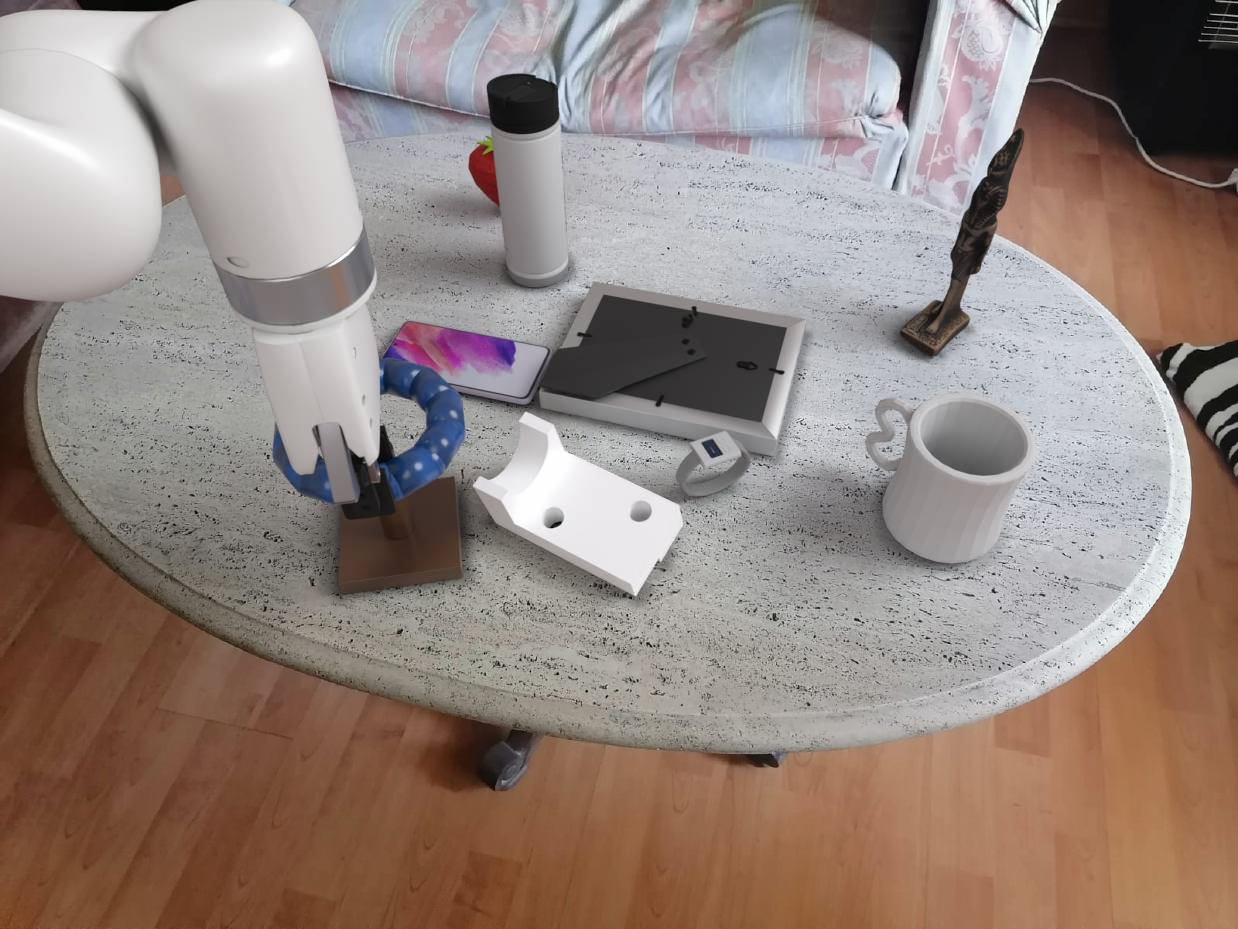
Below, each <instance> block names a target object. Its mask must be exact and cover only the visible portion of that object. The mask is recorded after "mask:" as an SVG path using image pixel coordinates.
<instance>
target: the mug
mask: <svg viewBox="0 0 1238 929" xmlns="http://www.w3.org/2000/svg"><path fill="white" fill-rule="evenodd" d="M889 410H894V411H896V412H898V413H900V415H901V416H902V418H903V420H904V423H905V424H906V425H907V429H906V435H905V443H904V449H903V453H902V455H901V457H898V458H896V459H888V458H887V457H886V456H885V455H884V454H883V453H882V450H880V447H879V446H878V444H879V443H889V442H892V440H894V439H895V436H896V432H897V431H896V429H895V427H894V424H893V422H892V421H891V418H890V416H889V413H888V411H889ZM874 414H875V415H874V416H875V419H876V420H877V423H878V426H879V427H880V429H881V431H872V432H869V433H868V434H867V436H866V439H865V441H864V445H865V448H866V451H867V454H868V455H869V457H870V458H871V460H872V461H873V462H874V463H875V464H876V466H878V467H879V468H880V469H882V470H884V471H885V472H894V474H893V476H892V478H891V479H890V481H889V483H888V485H887V487H886V490H885V492H884V495H883V498H882V517H883V520H884V523H885V525H886V528H887V530H888V532H890V534H891V535H892V537H893V538H894V540H896V541H897V542H898V543H899V544H900V545H901V546H903V547H904V548H905V549H906V550H908V551H909V552H912V553H913V554H915V555H917V556H919V557H921V558H924V559H927V560H930V561H933V562H936V563H946V564H960V563H961V564H962V563H968V562H970V561H974V560H977V559H979V558H981V557H982V556H984V555H986V554H987V553H988V552H990V551H991V550H992V548H993V547H994V545H996V543H997V541H998V540H999V538H1000V536H1001V533H1002V530H1003V526H1004V522H1005V519H1006V518H1005V517H1006V515H1007V511H1008V509H1009V506H1010V504H1011V502H1012V500H1013V497H1014V495H1015V492H1016V490H1017V488H1018V487H1019V485H1020V484H1021V482H1022V480H1023V479H1024V478H1025V476H1026V475H1027V474H1028V472H1029V470H1030V469H1031V468H1032V466H1033V465H1034V463H1035V460H1036V455H1037V451H1038V448H1037V443H1036V442H1037V441H1036V437H1035V435H1034V433H1033V431H1032V430H1031V428H1030V425H1029V424H1028V423H1027V422H1026V421H1025V420H1024V419H1023V418H1022V417H1021V416H1020V414H1019V413H1017V412H1016V411H1014V410H1013V409H1012V408H1010V407H1009V406H1008V405H1006V404H1003V403H1001V402H999V401H997V400H995V399H993V398H991V397H987V396H983V395H980V394H975V393H968V392H967V393H966V392H951V393H943V394H940V395H937V396H933V397H930V398H929V399H927V400H925V401H924V402H922V403H920V404H919V405H918V406H917V407H916V409H915V410H914V408H913V407H912V406H911V404H909V402H908V401H905V400H903V399H901V398H896V397H895V398H893V397H886V398H884V399H881V400H879V401H878V403H877V405H876V407H875V408H874Z"/></svg>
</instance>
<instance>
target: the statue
mask: <svg viewBox="0 0 1238 929" xmlns="http://www.w3.org/2000/svg"><path fill="white" fill-rule="evenodd" d="M1024 142H1025V130H1024V129H1023V127H1018V128H1017V129H1016V130H1015V131H1014V132H1013V133H1012V134H1011V135H1010V136H1009V137H1008V139H1007V140H1006V142H1005V143H1004V144H1003V146H1002V147H1001V148H1000V149H999V150H997V151H996V153H995V154H993V156H992V158H991V159H990V162H989V163H988V166H987V169H986V176H984V177H983V178H981V180H980V182H979V183H978V185H977V186H976V187H975V189H974V191H973V192H972V195H971V198H970V204H969V207H968V208H967V209H966V210H965V211H964V213H963V215H962V218H961V221H960V226H959V230H958V233H957V235H956V239H955V243H954V245H953V247H952V248H951V251H950V254H949V258H950V261H951V264H952V267H951V268H952V269H951V273H950V281H949V287H948V289H947V291H946V294H945V295H944V296H945V297H944V298H943V300H939V299H934V300H932V301H931V302H930V303H928V305H927V306H926V307H924V308H923V309H922V310H921V311H920V312H919V313H918V314H916V315H915V316H914V317H913V318H911V319H910V320H908V321H907V322H906V323H905V324H903V325H902V326H901V328H900V330H899V335H900V337H901V338H903V339H904V340H905V341H906V342H908V343H909V344H910V345H911V346H913V347H915V348H916V349H918V350H919V351H921V352H923V353H925V354H926V355H929V356H931V357H936V356H938V355H939V354H940V353H941V352H942V351H943V349H944V348H945V347H946V346H947V345H948V344H949V343H951V342H952V340H954V339H955V337H957V336H958V335H959V334H960V333H962V332H963V331H964V330H965V329H966V328H967V327H968V325H969V324H970V321H971V318H970V315H969V314H968V313H966V312H965V311H963V309H962V307H961V302H962V300H963V296H964V294H965V291H966V290H967V286H968V283H969V280H970V277H971V276H972V275H977V274H978V273H980V271H981V269H982V264H983V261H984V259H985V257H986V256H987V253H988V251H989V250H990V247H991V245H992V242H993V239H994V236H995V234H996V231H997V229H998V225H999V224H998V223H999V222H998V218H997V216H998V214H999V212H1001V211H1002V210H1003V209H1004V207H1005V205H1006V203H1007V200H1008V195H1009V190H1010V189H1009V186H1010V182H1011V179H1012V176H1013V173H1014V169H1015V166H1016V163H1017V161H1018V159H1019V157H1020V155H1021V152H1022V149H1023V146H1024Z"/></svg>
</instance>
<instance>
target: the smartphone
mask: <svg viewBox="0 0 1238 929" xmlns="http://www.w3.org/2000/svg"><path fill="white" fill-rule="evenodd" d="M381 358H394V359H398V360H402V361H406V362H410V363H415V364H419V365H423V366H427V367H430V368H432V369H433V370H435V371H436V372H437V373H438V374H439V375H440V376H441V377H442V378H443V379H444V380H445V381H446V382H448V383H449V384H450V385H451V386H452V387H453V388H454V389H455V390H456V391H457V392H458V393H464V394H468V395H473V396H478V397H483V398H487V399H493V400H497V401H502V402H508V403H512V404H517V405H527V404H530V403H531V402H532V400H533V398H534V396H535V395H536V394H535V393H536V391H537V390H538V388H539V383H540V381H541V379H542V378H543V376H544V374H545V372H546V370H547V368H548V366H549V364H550V362H551V360H552V358H553V350H552V349H551V348H550V347H549V346H545V345H540V344H536V343H530V342H525V341H519V340H514V339H509V338H504V337H499V336H494V335H488V334H483V333H478V332H474V331H468V330H463V329H458V328H453V327H452V328H451V327H447V326H442V325H437V324H431V323H425V322H421V321H415V320H407V321H406V320H405V321H404V322H402V324H401V326H400V327H399V328H398V330H397V332H396V334H395V335H394V337H393V338H392V340H391V341H390V343H389V344H388V346H387V348H386V349H385V351H384V352H383V354H382V355H381V357H379V359H381Z"/></svg>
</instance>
